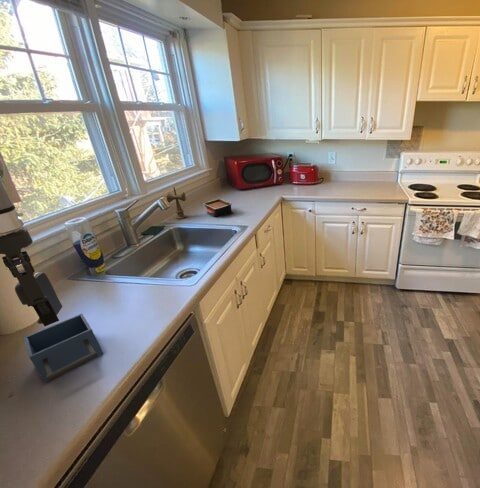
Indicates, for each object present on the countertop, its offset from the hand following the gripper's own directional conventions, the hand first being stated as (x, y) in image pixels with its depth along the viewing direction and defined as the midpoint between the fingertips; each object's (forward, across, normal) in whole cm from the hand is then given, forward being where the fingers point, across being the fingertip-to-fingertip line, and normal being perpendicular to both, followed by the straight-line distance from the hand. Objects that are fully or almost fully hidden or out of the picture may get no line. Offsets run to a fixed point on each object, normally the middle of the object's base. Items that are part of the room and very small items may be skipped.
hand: (48, 315), depth 70 cm
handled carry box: (+15, -4, 0) cm, 15 cm away
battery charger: (0, 0, 0) cm, 1 cm away
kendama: (+15, +86, -70) cm, 112 cm away
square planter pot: (+15, +75, -90) cm, 118 cm away
